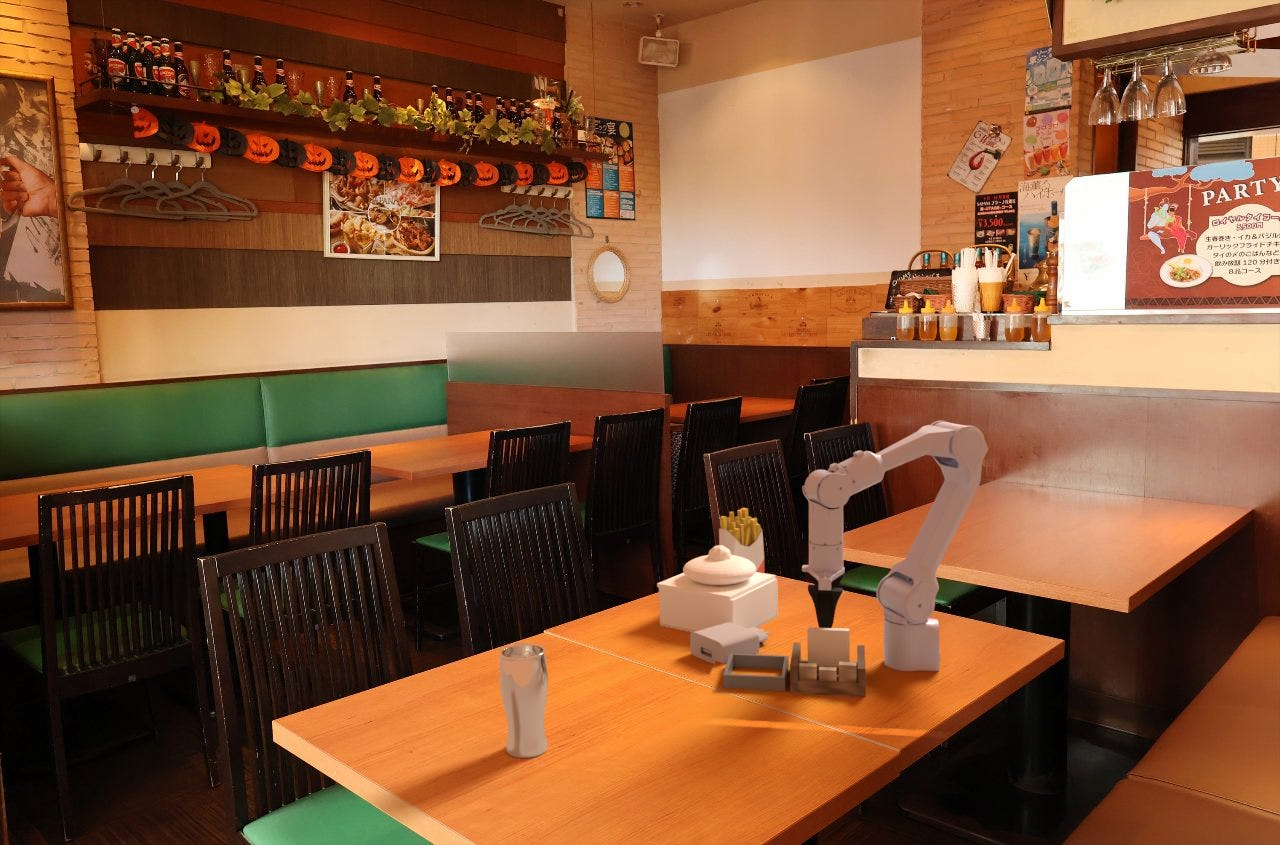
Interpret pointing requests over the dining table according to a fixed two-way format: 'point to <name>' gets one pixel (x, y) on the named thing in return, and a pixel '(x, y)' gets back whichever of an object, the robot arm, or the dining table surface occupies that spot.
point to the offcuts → (829, 672)
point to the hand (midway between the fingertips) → (826, 620)
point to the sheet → (828, 646)
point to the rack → (827, 686)
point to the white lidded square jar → (718, 593)
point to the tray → (756, 680)
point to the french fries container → (743, 537)
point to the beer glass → (524, 698)
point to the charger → (725, 641)
